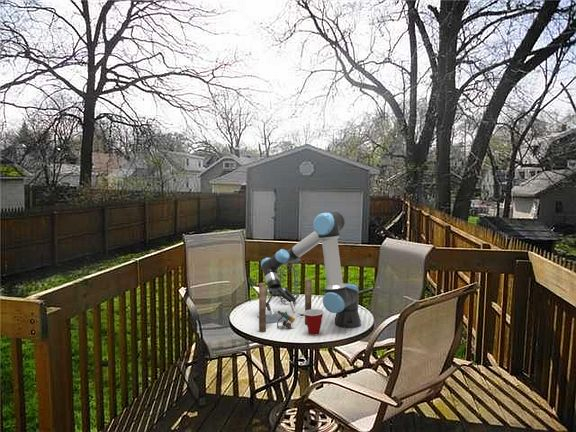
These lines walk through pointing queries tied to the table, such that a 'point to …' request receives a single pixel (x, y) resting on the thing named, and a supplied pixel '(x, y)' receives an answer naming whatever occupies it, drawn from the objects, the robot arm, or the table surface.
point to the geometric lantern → (294, 279)
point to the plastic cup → (314, 320)
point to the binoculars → (285, 323)
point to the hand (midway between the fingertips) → (283, 314)
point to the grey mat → (274, 318)
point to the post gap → (263, 302)
